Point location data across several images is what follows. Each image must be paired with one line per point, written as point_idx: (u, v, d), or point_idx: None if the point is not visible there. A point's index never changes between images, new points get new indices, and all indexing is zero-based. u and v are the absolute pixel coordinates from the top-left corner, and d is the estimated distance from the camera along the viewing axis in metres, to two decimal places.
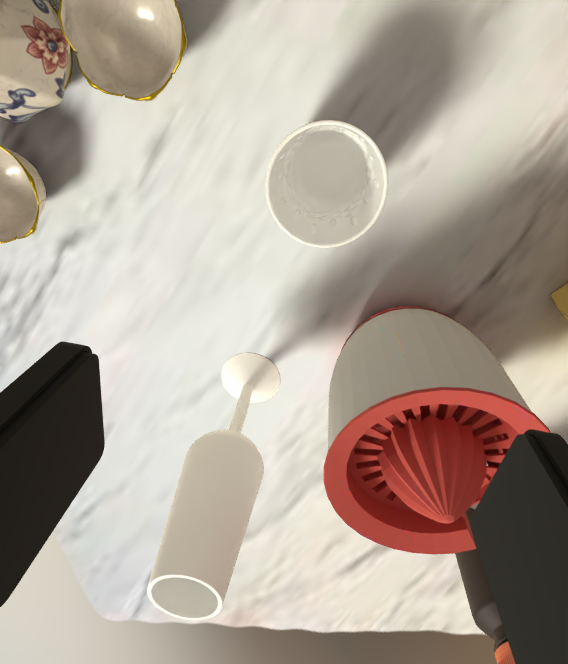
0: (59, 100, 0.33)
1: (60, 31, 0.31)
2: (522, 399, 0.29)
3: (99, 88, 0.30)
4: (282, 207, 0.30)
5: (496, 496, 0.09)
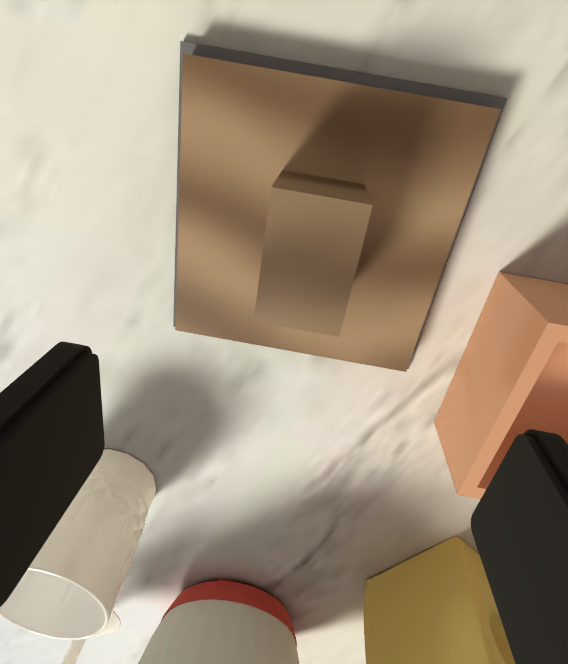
0: None
1: None
2: None
3: None
4: (28, 582, 0.29)
5: (496, 496, 0.09)
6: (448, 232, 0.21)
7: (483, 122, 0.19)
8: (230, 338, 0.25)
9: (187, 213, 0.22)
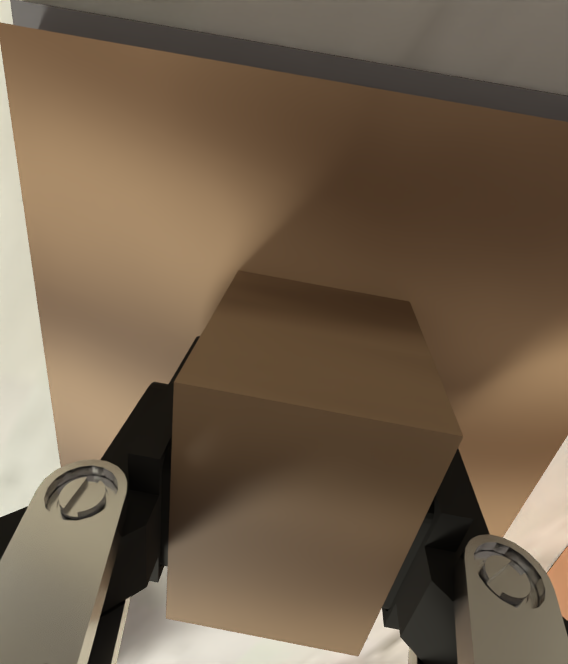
0: None
1: None
2: None
3: None
4: None
5: None
6: None
7: None
8: None
9: (59, 342, 0.11)
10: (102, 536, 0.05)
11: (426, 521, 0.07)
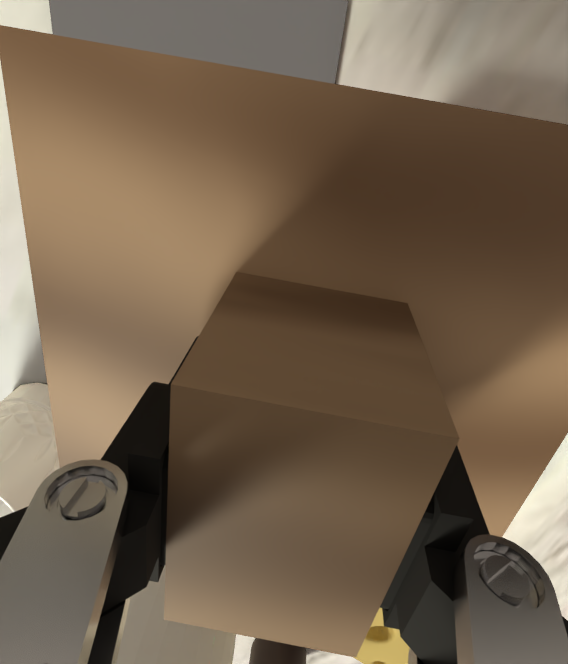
0: None
1: None
2: None
3: None
4: None
5: None
6: None
7: None
8: None
9: (58, 343, 0.11)
10: (102, 536, 0.05)
11: (426, 521, 0.07)
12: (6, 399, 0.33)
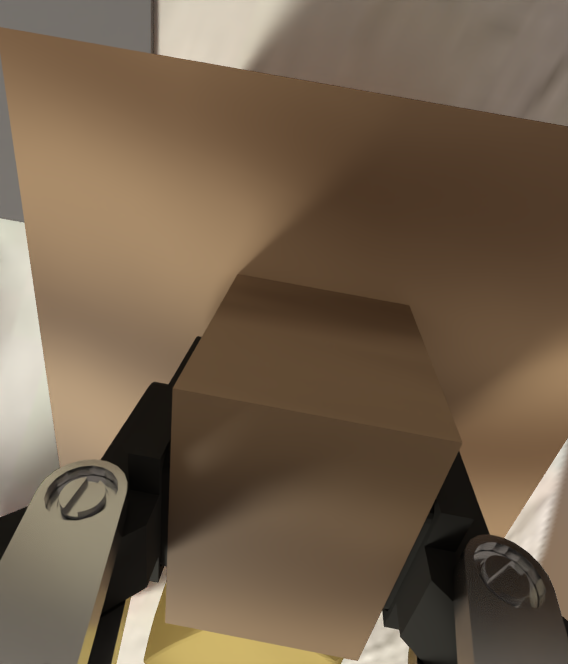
0: None
1: None
2: None
3: None
4: None
5: None
6: None
7: None
8: None
9: (58, 345, 0.11)
10: (102, 537, 0.05)
11: (426, 521, 0.07)
12: None
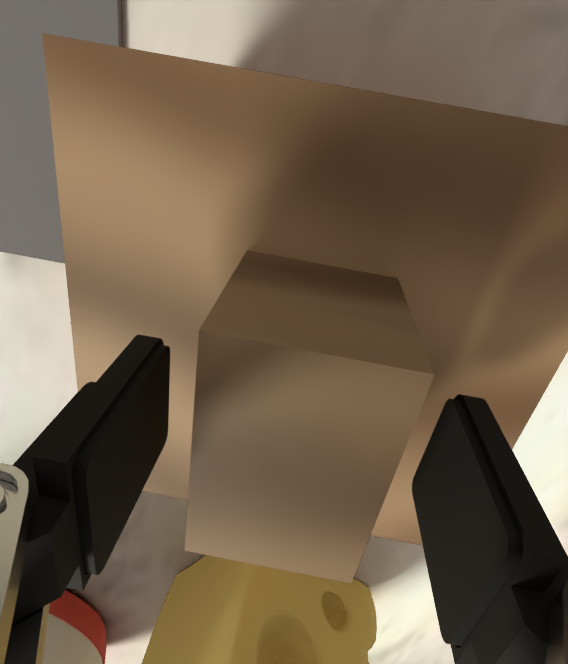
0: None
1: None
2: None
3: None
4: None
5: (430, 458, 0.10)
6: (546, 359, 0.12)
7: None
8: (173, 495, 0.16)
9: (85, 316, 0.12)
10: (5, 537, 0.05)
11: (513, 559, 0.06)
12: None
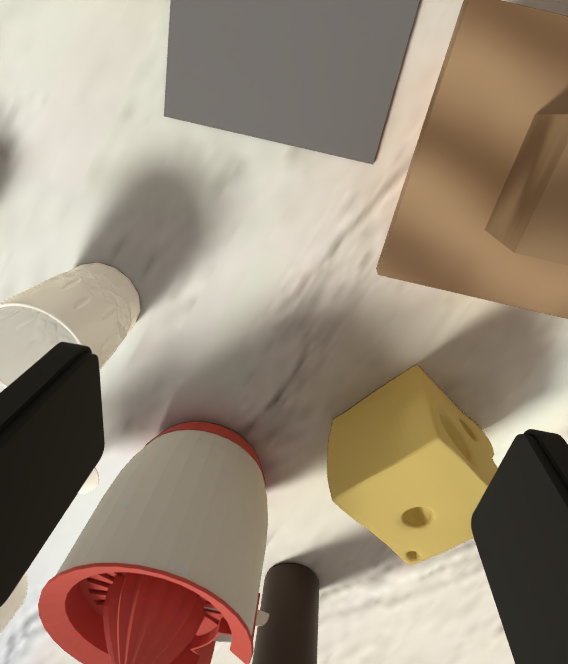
0: None
1: None
2: (227, 560, 0.30)
3: None
4: (17, 357, 0.31)
5: (496, 496, 0.09)
6: None
7: None
8: (431, 285, 0.26)
9: (426, 154, 0.23)
10: None
11: None
12: (70, 271, 0.34)
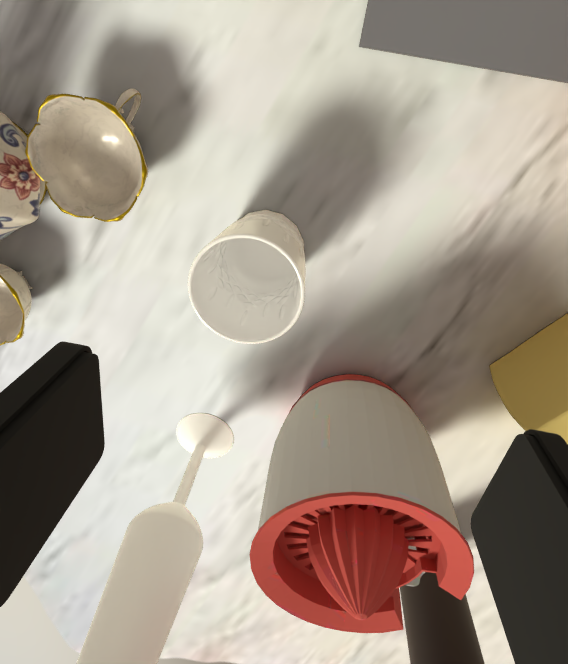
0: (35, 218, 0.35)
1: None
2: (440, 493, 0.29)
3: (69, 213, 0.32)
4: (211, 301, 0.31)
5: (496, 496, 0.09)
6: None
7: None
8: None
9: None
10: None
11: None
12: (247, 216, 0.33)
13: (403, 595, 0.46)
